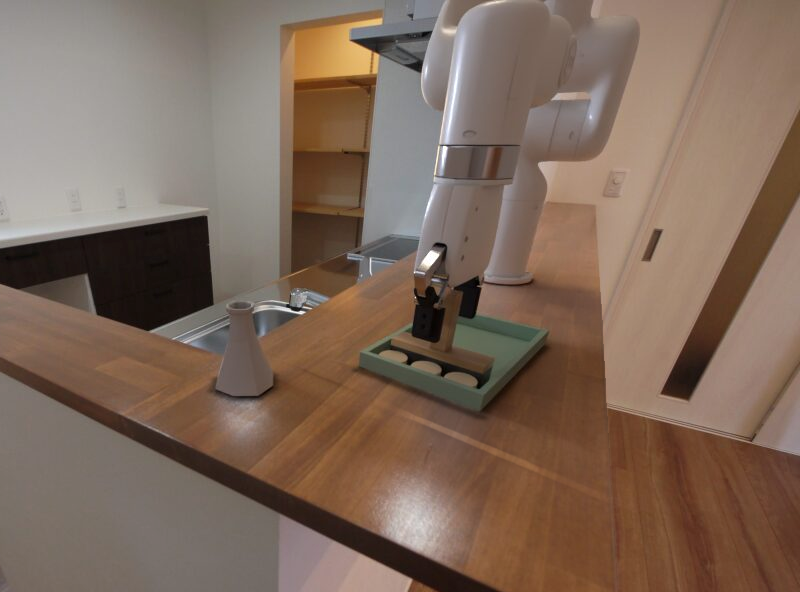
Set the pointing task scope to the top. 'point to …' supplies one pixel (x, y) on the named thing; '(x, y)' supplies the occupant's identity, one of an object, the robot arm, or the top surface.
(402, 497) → the top surface
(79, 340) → the top surface
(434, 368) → the crumb
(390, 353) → the crumb
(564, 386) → the top surface
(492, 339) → the tray
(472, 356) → the brush
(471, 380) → the crumb
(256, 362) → the flask
